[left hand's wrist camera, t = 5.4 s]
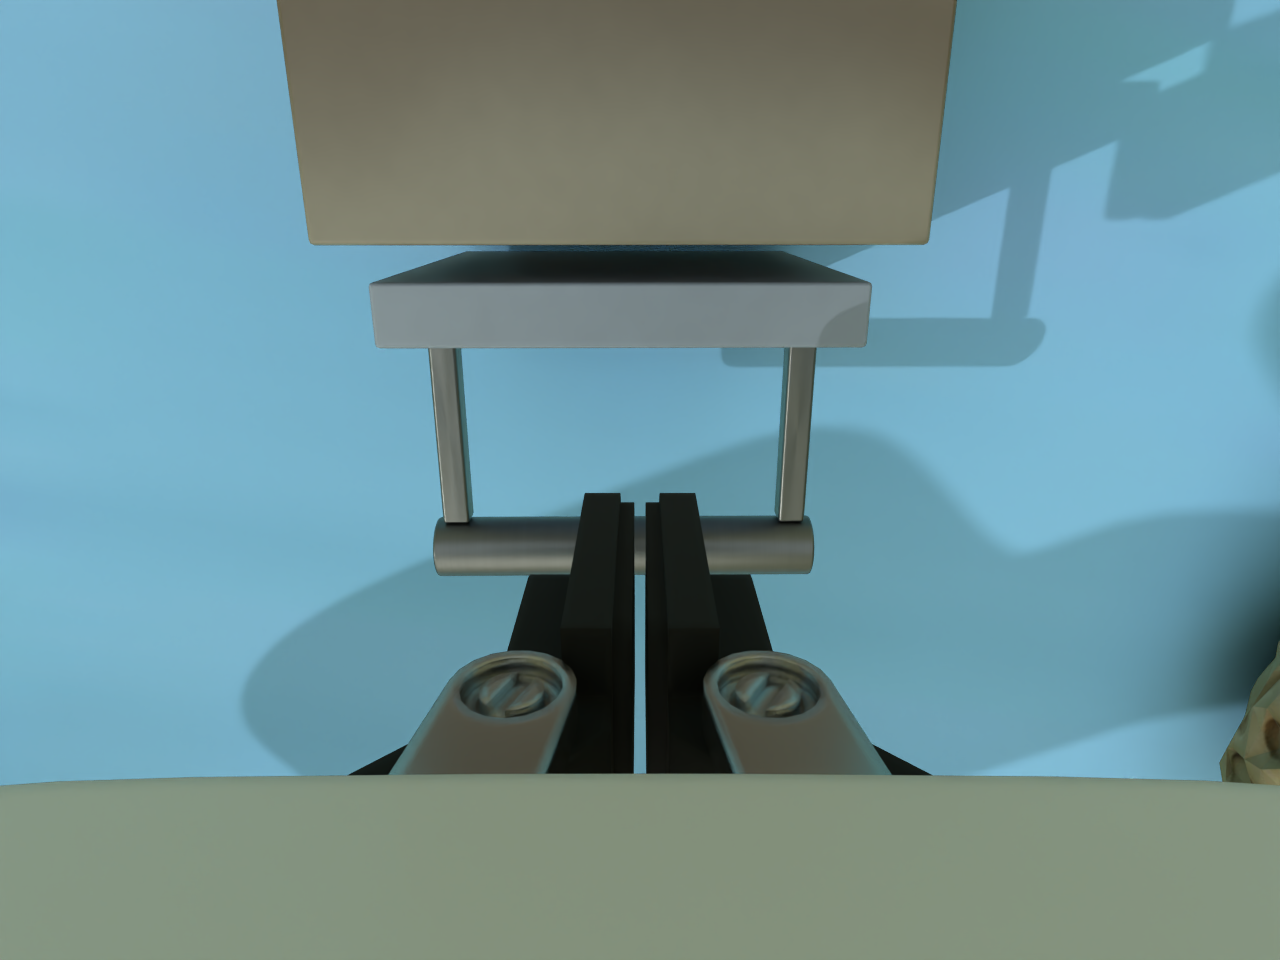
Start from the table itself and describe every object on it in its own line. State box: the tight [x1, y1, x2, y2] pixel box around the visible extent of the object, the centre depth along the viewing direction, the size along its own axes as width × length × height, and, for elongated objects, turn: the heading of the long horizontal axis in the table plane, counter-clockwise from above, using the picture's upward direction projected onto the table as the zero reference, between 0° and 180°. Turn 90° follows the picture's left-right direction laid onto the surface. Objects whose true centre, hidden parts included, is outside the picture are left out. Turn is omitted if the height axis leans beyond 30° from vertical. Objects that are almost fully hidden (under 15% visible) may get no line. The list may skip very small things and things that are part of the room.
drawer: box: [369, 251, 872, 576], centre depth 17 cm, size 24×9×9 cm, turn 0°
